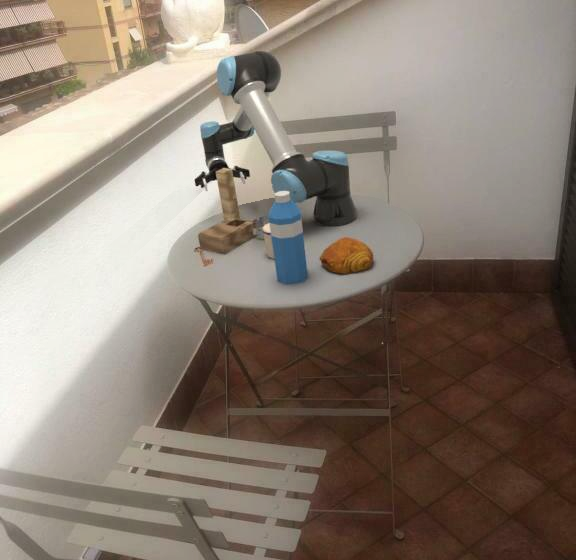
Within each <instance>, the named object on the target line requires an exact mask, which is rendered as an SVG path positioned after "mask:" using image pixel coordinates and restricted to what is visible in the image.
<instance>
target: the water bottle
mask: <svg viewBox="0 0 576 560" xmlns="http://www.w3.org/2000/svg"><path fill="white" fill-rule="evenodd" d="M274 198H275V201H274V202H273V204H272V206H271V207H270V210H269V211H268V221H269V222H268V223H269V224H270V231H271V238H272V245H273V252H274V259H273V260H274V264H275V265H274V266H275V272H276V279H277V282H279V283H281V284H284V285H293V284H300V283H302V282H303V280H304V281H305V280H307V279H309V276H308V275H309V274H308V266H307V255H306V250H305V240H304V230H303V222H302V221H303V219H302V213H301V208H300V207H299V206H298V205H297V203H294V202H293V201H292V200H291V199H290V194H289V191H279V192H277V193H275V192H274Z"/></svg>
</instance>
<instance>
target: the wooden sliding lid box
mask: <svg viewBox="0 0 576 560" xmlns="http://www.w3.org/2000/svg"><path fill="white" fill-rule="evenodd" d="M256 227H257V226H256V221H252V220H248V219H243V218H240V219H238V218H232V217H230V218H228V219H226V220H224V219H223V221H221V222H219V223H218V222H217V223H215V224H214V225H212V226H210V227H208V228H206V229H204V230H202V231H200V232H198V234H197V237H198V238H197V239H198V243H199V247H200V248H199V249H200V250H203V249H205V250H204V251H209V252H213V253H217V254H222V255H226V254H229V252H231V251H233V250H235V249H236V248H238V247H240V246H242V245H243V244H245V243H246V242H248V241H251V239H254V238H255V237H254V234H253V229H254V228H256ZM256 229H257V228H256Z"/></svg>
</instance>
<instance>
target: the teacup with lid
mask: <svg viewBox="0 0 576 560" xmlns="http://www.w3.org/2000/svg"><path fill="white" fill-rule="evenodd" d="M262 233H263V239H264V245H265V251H266V256H267V258H269V259H272V260H275V259H274V252H273V245H272V238H271V231H270V224H269V222H268V223H266V224H264V225H263V227H262Z"/></svg>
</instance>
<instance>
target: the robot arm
mask: <svg viewBox="0 0 576 560" xmlns="http://www.w3.org/2000/svg"><path fill="white" fill-rule="evenodd" d="M216 68H217V69H216V70H217V71H216V79H217V80H216V81H217V86H218V88H219V90H220V92H221V95H223V96H225V97H230V96H231V98H232V101H233V102H234V103H235V104H237V105H240V106H239V108H238V109H237V112H236V114H235V115H234V117H233V120H232V121H231V122H227V123H223V124H220V123H219V122H218V121H216V120H215V121H212V120H211V121H207V122H204V123H201V124H200V127H199V129H200V137H201V141H202V146H203V150H204V158H205V159H204V160H205V165H206V167H207V169H208V172H205V171H201V173H200V174H199V175H198V176H197V177H196V178H194V184H195V187H199V186H200V188H201V189H203V188H204V190H205V192H208V186H207V184H209V183H210V182H212V181H213V182H214V181H217V177H216V171H218V170H220V169H223V168H227V169H232V172H233V178H236V179H237V178H238V179H240V180H241V182H242V184H243V185H246V180H247V178H250V177H251V174H250V169H247V168H244V167H240V166H238V165H234V167H233V168H231V167H229V165H228V164H227V161H226V158H225V153H224V146H223V145H226V144H230V143H233V142H237V141H238V142H239V141H242V140H246V139H248V138H250V137H252V136H254V134H255V133H256V135H257V137H258V139H259V140H260V142H261V144H262V146H263V148H264V150H265V152H266V154H267V155H268V157H269V159H270V161H271V164H272V168H271V172H272V174H271V177H270V182H271V188H272V190H273V193H274V194H275V193H277V192H279V191H289V194H290V199H291V200H292V201H293V202H294V203H295V204H297V203H299V204H300V203H303V202H304V201H307V200H309V199H312V198H316V200H315V202H314V208H313V211H312V212H313V213H312V217H313V218H312V219H313V221H314V222H315V224H317V225H320V226H326V227H327V226H329V227H333V226H335V227H336V226H343V225H345V224H349V223H352V222H353V221H354V220H356V219H357V217H358V211H357V207H356V205H355V203H354V200H353V198H352V196H351V185H350V184H351V183H350V164H349V160H348V159H349V158H348V155H347V154H346V153H345V152H344V151H343V152H342V151H339V150H318V151H315V152H313V153H312V154H311V155H312V156H311V158H312V159H310V160H307V158H306V157H305V155H304V153H301V152H300V151H299V152H298V151H297V149H296V148H295V146H294V145H293V142H292V141H291V140H290V137H289V135H288V134H287V132H286V130H285V127H284V126H283V124H282V123H281V121H280V119H279V117H278V115H277V113H276V111H275V109H274V108H273V106H272V104H271V102H270V100H269V96H270V94H271V93H273V92H274V91H276V89H277V87H278V86H279V83H280V82H281V77H282V68H281V64H280V63H279V61H278V60H277V58H276V57H275V56H274V55H273V54H272V53H271V52H268V51H264V50H257V51H254V52H247V53H243V54H238V55H230V56H227V57H224V58H222V59H220V61H219V62H218V65H217V67H216Z"/></svg>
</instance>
